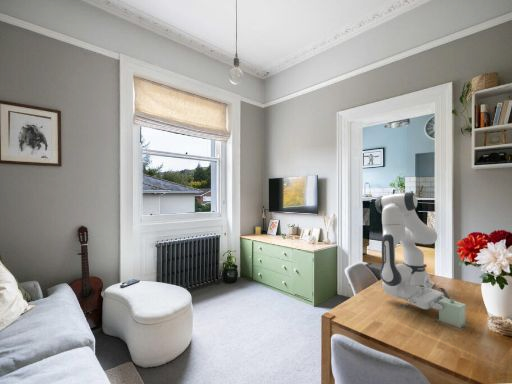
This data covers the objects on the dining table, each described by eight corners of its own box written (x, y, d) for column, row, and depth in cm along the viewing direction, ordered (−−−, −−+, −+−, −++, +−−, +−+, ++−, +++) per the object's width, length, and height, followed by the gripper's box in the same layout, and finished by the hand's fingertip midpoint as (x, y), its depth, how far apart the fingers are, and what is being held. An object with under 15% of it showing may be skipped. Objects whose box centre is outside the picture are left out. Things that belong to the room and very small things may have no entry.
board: (444, 316, 122) (444, 314, 122) (470, 325, 114) (470, 323, 114) (433, 323, 116) (433, 320, 116) (460, 333, 107) (460, 331, 107)
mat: (407, 303, 136) (407, 302, 136) (428, 310, 128) (428, 309, 128) (396, 308, 130) (396, 307, 130) (417, 316, 122) (417, 315, 122)
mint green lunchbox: (444, 316, 120) (444, 295, 120) (465, 324, 113) (465, 301, 113) (438, 320, 116) (439, 298, 116) (460, 327, 110) (460, 304, 110)
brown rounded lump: (452, 308, 130) (452, 291, 130) (437, 307, 132) (437, 290, 132) (445, 302, 137) (445, 286, 137) (431, 301, 138) (431, 285, 138)
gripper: (405, 293, 122) (437, 303, 111) (424, 284, 133) (456, 293, 122) (405, 305, 122) (437, 317, 111) (424, 296, 133) (455, 306, 122)
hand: (447, 304), depth 116 cm, fingers open, 8 cm apart
